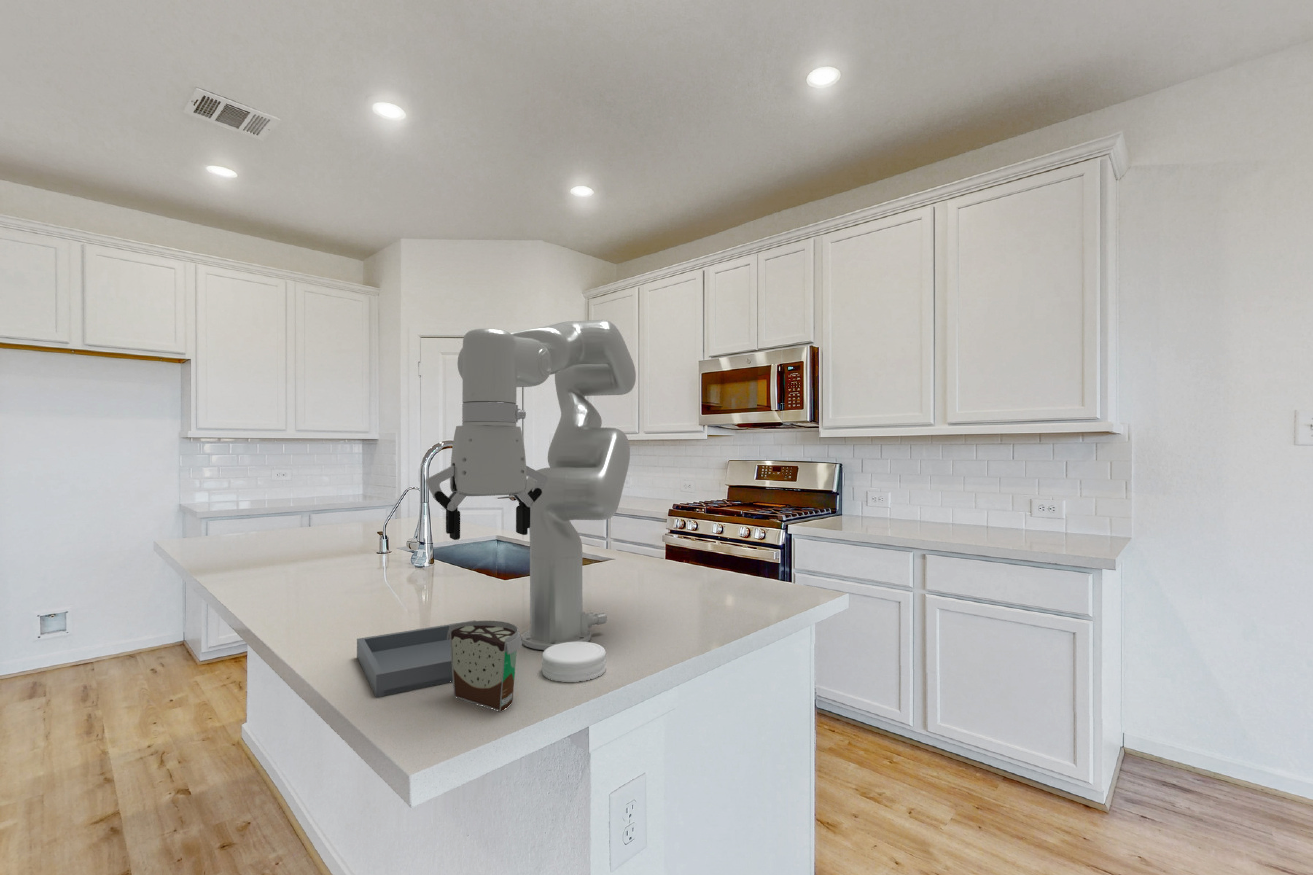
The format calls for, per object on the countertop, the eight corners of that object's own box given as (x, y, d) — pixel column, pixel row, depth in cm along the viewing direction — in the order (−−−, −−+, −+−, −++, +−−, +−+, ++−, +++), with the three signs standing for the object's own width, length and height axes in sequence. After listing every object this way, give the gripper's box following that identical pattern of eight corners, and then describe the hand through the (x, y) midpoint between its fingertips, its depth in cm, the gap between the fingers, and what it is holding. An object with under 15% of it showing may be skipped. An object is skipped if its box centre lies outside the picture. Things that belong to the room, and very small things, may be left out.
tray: (475, 637, 116) (475, 620, 116) (512, 669, 100) (512, 649, 100) (356, 657, 106) (356, 638, 106) (376, 697, 89) (376, 674, 89)
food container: (540, 698, 88) (540, 627, 88) (508, 714, 83) (508, 639, 83) (480, 681, 95) (480, 615, 95) (446, 695, 89) (446, 625, 90)
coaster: (575, 657, 106) (575, 636, 106) (618, 670, 100) (618, 648, 100) (528, 674, 98) (528, 651, 98) (572, 689, 92) (572, 665, 92)
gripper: (537, 419, 97) (537, 529, 97) (421, 416, 88) (420, 537, 88) (556, 417, 91) (555, 535, 91) (432, 413, 82) (431, 544, 82)
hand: (489, 536), depth 89 cm, fingers open, 9 cm apart
